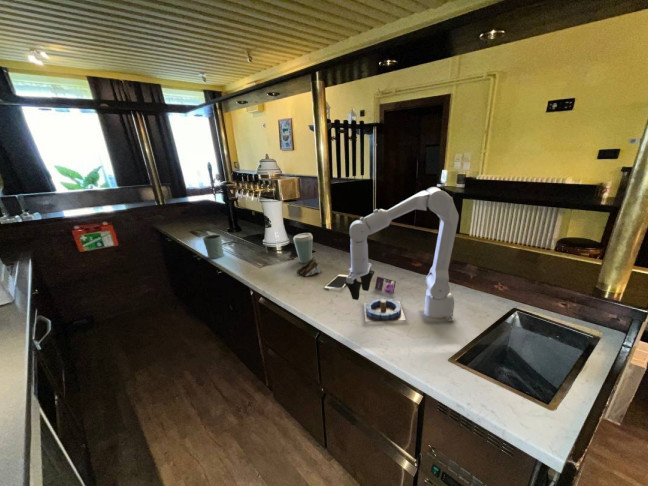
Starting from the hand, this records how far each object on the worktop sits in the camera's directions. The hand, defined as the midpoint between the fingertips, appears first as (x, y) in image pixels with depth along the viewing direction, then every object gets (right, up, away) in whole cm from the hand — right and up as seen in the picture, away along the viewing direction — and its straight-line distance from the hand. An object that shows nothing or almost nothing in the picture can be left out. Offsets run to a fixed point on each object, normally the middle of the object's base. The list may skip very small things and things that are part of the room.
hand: (360, 294), depth 105 cm
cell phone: (-9, +5, +33) cm, 34 cm away
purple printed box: (+11, 0, +22) cm, 25 cm away
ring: (+9, -6, +5) cm, 11 cm away
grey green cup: (-85, +22, +77) cm, 117 cm away
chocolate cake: (-24, +9, +45) cm, 52 cm away
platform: (+9, -7, +6) cm, 13 cm away
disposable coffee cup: (-29, +17, +62) cm, 71 cm away
